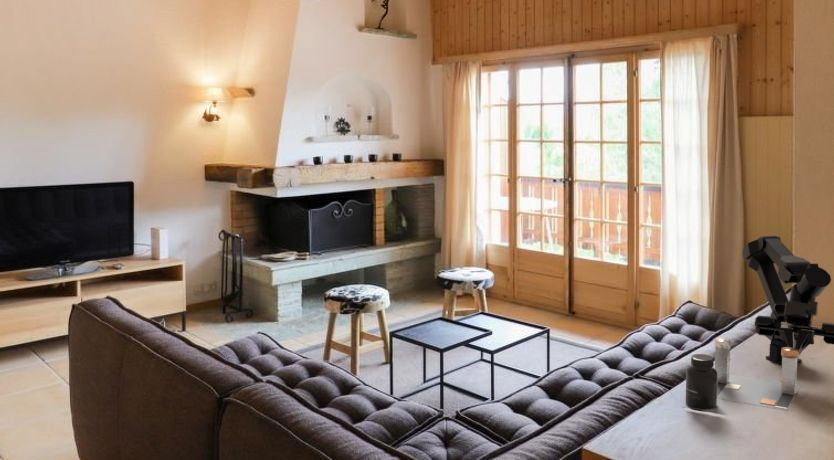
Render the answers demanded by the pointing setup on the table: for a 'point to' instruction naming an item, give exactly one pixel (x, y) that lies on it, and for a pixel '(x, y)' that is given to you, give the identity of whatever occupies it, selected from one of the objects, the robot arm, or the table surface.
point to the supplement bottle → (701, 383)
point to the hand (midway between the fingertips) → (792, 360)
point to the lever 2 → (789, 370)
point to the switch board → (755, 392)
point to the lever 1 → (722, 359)
